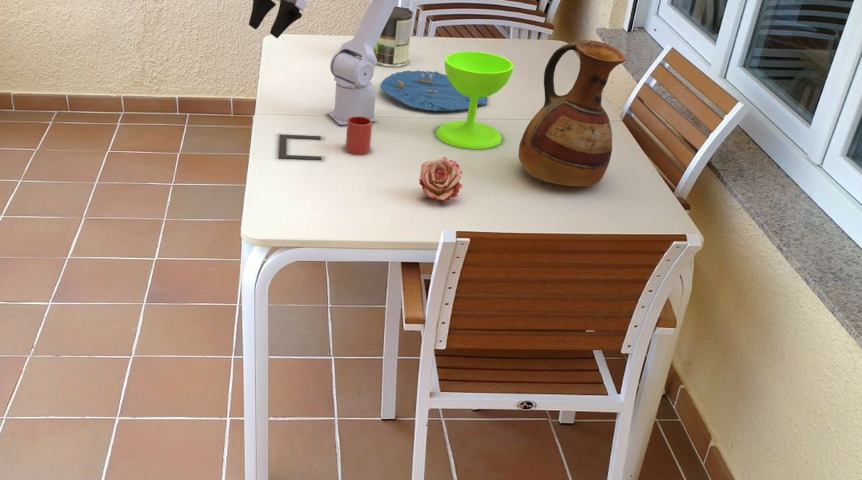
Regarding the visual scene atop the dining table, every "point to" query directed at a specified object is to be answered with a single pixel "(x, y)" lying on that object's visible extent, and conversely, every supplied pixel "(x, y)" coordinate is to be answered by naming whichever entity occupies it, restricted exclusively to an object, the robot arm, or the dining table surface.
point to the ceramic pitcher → (572, 121)
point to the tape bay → (283, 155)
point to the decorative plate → (426, 91)
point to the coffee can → (394, 39)
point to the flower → (440, 179)
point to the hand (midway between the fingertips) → (262, 31)
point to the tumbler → (358, 135)
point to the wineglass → (474, 96)
